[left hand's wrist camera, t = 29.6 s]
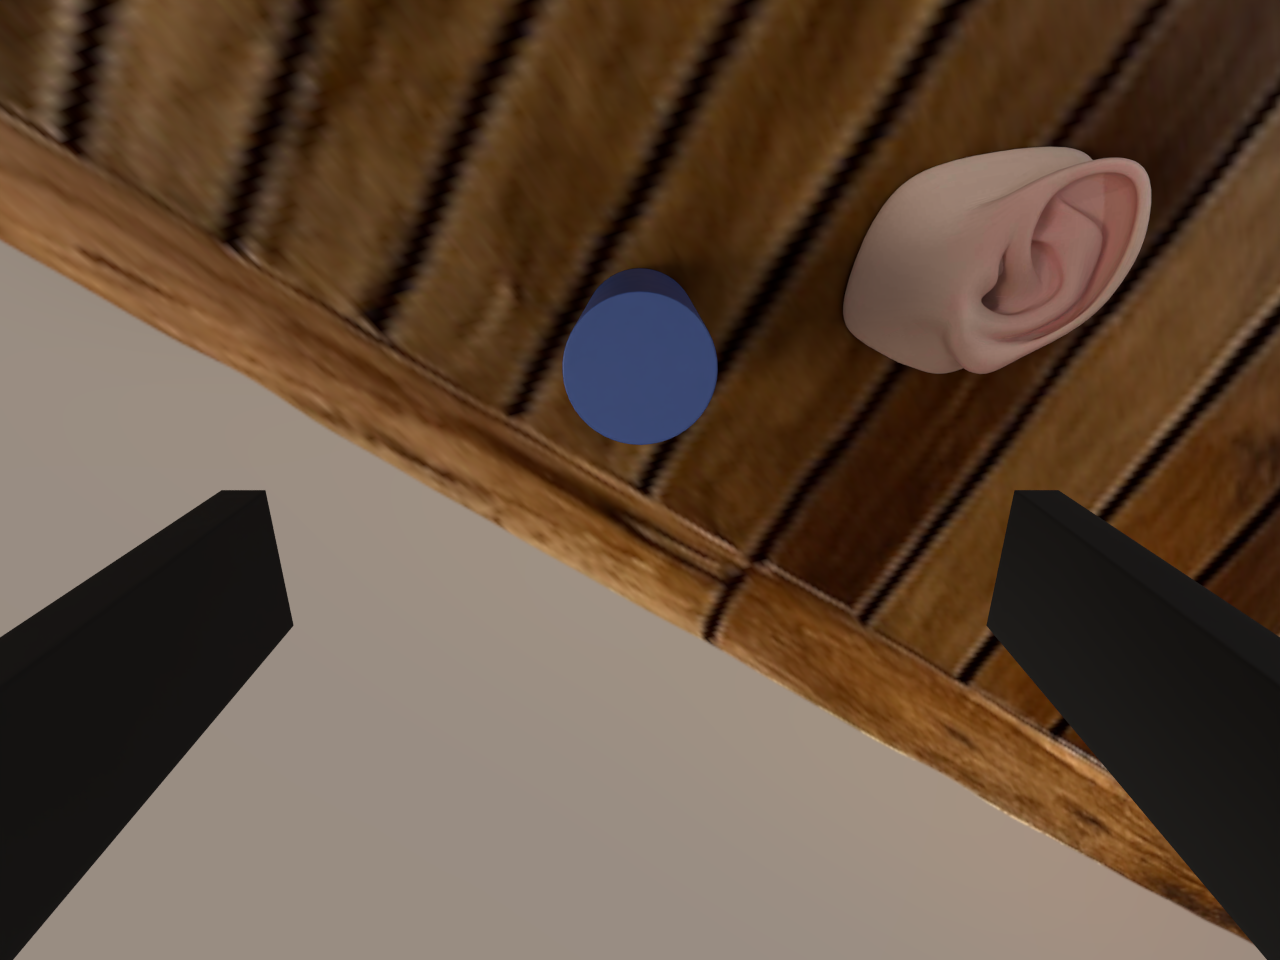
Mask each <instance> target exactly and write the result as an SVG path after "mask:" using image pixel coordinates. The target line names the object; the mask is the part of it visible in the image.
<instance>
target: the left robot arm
mask: <svg viewBox="0 0 1280 960" xmlns="http://www.w3.org/2000/svg"><path fill="white" fill-rule="evenodd" d="M292 627H293V621H292V616H291V612H290V607H289V602H288V597H287V592H286V588H285V583H284V578H283V573H282V568H281V563H280V559H279V554H278V549H277V544H276V539H275V534H274V530H273V525H272V520H271V515H270V510H269V506H268V501H267V496H266V491H265V490H221V491H220V492H218V493H217V494H216V495H214V496H212V497H211V498H209V499H208V500H206V501H205V502H203V503H202V504H200V505H199V506H197V507H196V508H194V509H193V510H191V511H190V512H188V513H187V514H185V515H184V516H182V517H181V518H179V519H178V520H176V521H175V522H173V523H172V524H170V525H169V526H167V527H166V528H164V529H163V530H161V531H160V532H158V533H157V534H155V535H154V536H152V537H151V538H149V539H148V540H146V541H145V542H143V543H142V544H140V545H139V546H137V547H136V548H134V549H133V550H131V551H130V552H128V553H127V554H125V555H124V556H122V557H121V558H119V559H118V560H116V561H115V562H113V563H112V564H110V565H109V566H107V567H106V568H104V569H103V570H101V571H100V572H98V573H97V574H95V575H93V576H92V577H90V578H89V579H88V580H86V581H84V582H83V583H81V584H80V585H79V586H77V587H75V588H74V589H72V590H71V591H69V592H68V593H66V594H65V595H63V596H62V597H60V598H59V599H57V600H56V601H54V602H53V603H51V604H50V605H48V606H47V607H45V608H44V609H42V610H41V611H39V612H38V613H36V614H35V615H33V616H32V617H30V618H29V619H27V620H26V621H24V622H23V623H21V624H20V625H18V626H17V627H15V628H14V629H12V630H11V631H9V632H8V633H6V634H5V635H3V636H2V637H0V960H13V959H14V958H15V957H16V956H17V954H18V953H19V952H20V951H21V950H22V948H23V947H24V946H25V945H26V944H27V942H28V941H29V940H30V939H31V938H32V936H33V935H34V934H35V933H36V932H37V931H38V929H39V928H40V927H41V926H42V925H43V923H44V922H45V921H46V920H47V919H48V917H49V916H50V915H51V914H52V913H53V911H54V910H55V909H56V908H57V907H58V905H59V904H60V903H61V902H62V901H63V900H64V898H65V897H66V896H67V895H68V894H69V892H70V891H71V890H72V889H73V888H74V886H75V885H76V884H77V883H78V882H79V880H80V879H81V878H82V877H83V876H84V874H85V873H86V872H87V871H88V870H89V868H90V867H91V866H92V865H93V864H94V863H95V861H96V860H97V859H98V858H99V857H100V855H101V854H102V853H103V852H104V851H105V849H106V848H107V847H108V846H109V845H110V844H111V842H112V841H113V840H114V839H115V838H116V836H117V835H118V834H119V833H120V832H121V830H122V829H123V828H124V827H125V826H126V824H127V823H128V822H129V821H130V820H131V818H132V817H133V816H134V815H135V814H136V813H137V811H138V810H139V809H140V808H141V807H142V805H143V804H144V803H145V802H146V801H147V799H148V798H149V797H150V796H151V795H152V793H153V792H154V791H155V790H156V789H157V788H158V786H159V785H160V784H161V783H162V781H163V780H164V779H165V778H166V777H167V776H168V774H169V773H170V772H171V771H172V770H173V768H174V767H175V766H176V765H177V764H178V762H179V761H180V760H181V759H182V758H183V756H184V755H185V754H186V753H187V752H188V751H189V749H190V748H191V747H192V746H193V745H194V743H195V742H196V741H197V740H198V739H199V737H200V736H201V735H202V734H203V733H204V731H205V730H206V729H207V728H208V727H209V725H210V724H211V723H212V722H213V721H214V720H215V718H216V717H217V716H218V715H219V714H220V712H221V711H222V710H223V709H224V708H225V706H226V705H227V704H228V703H229V702H230V701H231V699H232V698H233V697H234V696H235V695H236V693H237V692H238V691H239V690H240V689H241V687H242V686H243V685H244V684H245V683H246V681H247V680H248V679H249V678H250V677H251V675H252V674H253V673H254V672H255V671H256V670H257V668H258V667H259V666H260V665H261V663H262V662H263V661H264V660H265V659H266V658H267V656H268V655H269V654H270V653H271V652H272V650H273V649H274V648H275V647H276V646H277V644H278V643H279V642H280V641H281V640H282V638H283V637H284V636H285V635H286V634H287V633H288V631H289V630H290V629H291V628H292ZM987 627H988V628H989V629H990V630H991V631H992V633H993V634H994V635H995V636H996V637H997V639H998V640H999V641H1000V642H1001V643H1002V645H1003V646H1004V647H1005V648H1006V649H1007V650H1008V652H1009V653H1010V654H1011V655H1012V656H1013V658H1014V659H1015V660H1016V661H1017V662H1018V664H1019V665H1020V666H1021V667H1022V668H1023V670H1024V671H1025V672H1026V673H1027V674H1028V675H1029V677H1030V678H1031V679H1032V680H1033V681H1034V683H1035V684H1036V685H1037V686H1038V687H1039V689H1040V690H1041V691H1042V692H1043V693H1044V695H1045V696H1046V697H1047V698H1048V699H1049V701H1050V702H1051V703H1052V704H1053V705H1054V706H1055V708H1056V709H1057V710H1058V711H1059V712H1060V714H1061V715H1062V716H1063V717H1064V718H1065V720H1066V721H1067V722H1068V723H1069V724H1070V726H1071V727H1072V728H1073V729H1074V730H1075V731H1076V733H1077V734H1078V735H1079V736H1080V737H1081V739H1082V740H1083V741H1084V742H1085V743H1086V745H1087V746H1088V747H1089V748H1090V749H1091V751H1092V752H1093V753H1094V754H1095V755H1096V757H1097V758H1098V759H1099V760H1100V761H1101V762H1102V764H1103V765H1104V766H1105V767H1106V768H1107V770H1108V771H1109V772H1110V773H1111V774H1112V776H1113V777H1114V778H1115V779H1116V780H1117V782H1118V783H1119V784H1120V785H1121V786H1122V788H1123V789H1124V790H1125V791H1126V792H1127V793H1128V795H1129V796H1130V797H1131V798H1132V799H1133V801H1134V802H1135V803H1136V804H1137V805H1138V807H1139V808H1140V809H1141V810H1142V811H1143V813H1144V814H1145V815H1146V816H1147V817H1148V818H1149V820H1150V821H1151V822H1152V823H1153V824H1154V826H1155V827H1156V828H1157V829H1158V830H1159V832H1160V833H1161V834H1162V835H1163V836H1164V838H1165V839H1166V840H1167V841H1168V842H1169V844H1170V845H1171V846H1172V847H1173V848H1174V849H1175V851H1176V852H1177V853H1178V854H1179V855H1180V857H1181V858H1182V859H1183V860H1184V861H1185V863H1186V864H1187V865H1188V866H1189V867H1190V869H1191V870H1192V871H1193V872H1194V873H1195V874H1196V876H1197V877H1198V878H1199V879H1200V880H1201V882H1202V883H1203V884H1204V885H1205V886H1206V888H1207V889H1208V890H1209V891H1210V892H1211V894H1212V895H1213V896H1214V897H1215V898H1216V900H1217V901H1218V902H1219V903H1220V904H1221V905H1222V907H1223V908H1224V909H1225V910H1226V911H1227V913H1228V914H1229V915H1230V916H1231V917H1232V919H1233V920H1234V921H1235V922H1236V923H1237V925H1238V926H1239V927H1240V928H1241V929H1242V931H1243V932H1244V933H1245V934H1246V935H1247V936H1248V938H1249V939H1250V940H1251V941H1252V942H1253V944H1254V945H1255V946H1256V947H1257V948H1258V950H1259V951H1260V952H1261V953H1262V954H1263V955H1264V957H1265V958H1266V959H1267V960H1280V637H1278V636H1277V635H1275V634H1274V633H1272V632H1271V631H1269V630H1268V629H1266V628H1265V627H1263V626H1262V625H1260V624H1259V623H1257V622H1256V621H1254V620H1253V619H1251V618H1250V617H1248V616H1247V615H1245V614H1244V613H1242V612H1241V611H1239V610H1238V609H1236V608H1235V607H1233V606H1232V605H1230V604H1229V603H1227V602H1226V601H1224V600H1223V599H1221V598H1220V597H1218V596H1217V595H1215V594H1214V593H1212V592H1211V591H1209V590H1208V589H1206V588H1205V587H1203V586H1202V585H1200V584H1199V583H1197V582H1196V581H1194V580H1193V579H1191V578H1190V577H1188V576H1187V575H1185V574H1184V573H1182V572H1181V571H1179V570H1177V569H1176V568H1174V567H1173V566H1171V565H1170V564H1168V563H1167V562H1165V561H1164V560H1162V559H1161V558H1159V557H1158V556H1156V555H1155V554H1153V553H1152V552H1150V551H1149V550H1147V549H1146V548H1144V547H1143V546H1141V545H1140V544H1138V543H1137V542H1135V541H1134V540H1132V539H1131V538H1129V537H1128V536H1126V535H1125V534H1123V533H1122V532H1120V531H1119V530H1117V529H1116V528H1114V527H1113V526H1111V525H1110V524H1108V523H1107V522H1105V521H1104V520H1102V519H1101V518H1099V517H1098V516H1096V515H1095V514H1093V513H1092V512H1090V511H1089V510H1087V509H1086V508H1084V507H1083V506H1081V505H1080V504H1078V503H1077V502H1075V501H1074V500H1072V499H1071V498H1069V497H1068V496H1066V495H1065V494H1063V493H1062V492H1060V491H1059V490H1015V491H1014V496H1013V501H1012V506H1011V510H1010V515H1009V520H1008V525H1007V530H1006V534H1005V539H1004V544H1003V549H1002V554H1001V559H1000V563H999V568H998V573H997V578H996V583H995V587H994V592H993V597H992V602H991V607H990V612H989V616H988V621H987Z"/></svg>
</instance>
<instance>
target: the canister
mask: <svg viewBox="0 0 1280 960" xmlns="http://www.w3.org/2000/svg"><path fill="white" fill-rule="evenodd" d="M717 371H718V366H717V355H716V350H715V347H714V343H713V340H712V338H711V336H710V334H709V332H708V330H707V328H706V326H705V325H704V323H703V321H702V319H701V318H700V316H699V314H698V312H697V311H696V309H695V307H694V305H693V304H692V302H691V300H690V298H689V297H688V295H687V294H686V292H685V291H684V289H683V288H682V287H681V286H680V285H679V284H678V283H677V282H676V281H675V280H673V279H672V278H670V277H669V276H667V275H665V274H663V273H661V272H658V271H655V270H651V269H642V268H637V269H629V270H625V271H622V272H619V273H617V274H615V275H613V276H611V277H610V278H608V279H607V280H606V281H604V282H603V283H602V284H601V285H600V286H599V287H598V288H597V290H596V291H595V292H594V294H593V296H592V297H591V299H590V301H589V302H588V304H587V306H586V308H585V309H584V311H583V313H582V315H581V316H580V318H579V320H578V322H577V323H576V325H575V327H574V328H573V330H572V332H571V334H570V336H569V339H568V341H567V344H566V347H565V351H564V356H563V379H564V385H565V389H566V392H567V395H568V397H569V400H570V402H571V404H572V405H573V407H574V409H575V410H576V412H577V413H578V414H579V416H580V417H581V418H582V419H583V420H584V421H585V422H586V423H587V424H588V425H589V426H590V427H591V428H593V429H594V430H595V431H597V432H598V433H600V434H602V435H603V436H605V437H608V438H610V439H612V440H615V441H618V442H622V443H627V444H637V445H644V444H653V443H658V442H662V441H665V440H668V439H671V438H673V437H675V436H677V435H679V434H680V433H682V432H683V431H685V430H686V429H688V428H689V427H690V426H691V425H692V424H694V423H695V422H696V420H697V419H698V418H699V417H700V416H701V415H702V413H703V412H704V410H705V409H706V408H707V406H708V404H709V402H710V400H711V398H712V395H713V392H714V390H715V385H716V381H717Z"/></svg>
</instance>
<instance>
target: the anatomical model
mask: <svg viewBox="0 0 1280 960" xmlns="http://www.w3.org/2000/svg"><path fill="white" fill-rule="evenodd" d="M1150 208H1151V186H1150V181H1149V177H1148V174H1147V173H1146V171H1145V169H1144V168H1143V167H1142V166H1141V165H1140V164H1138V163H1137V162H1135V161H1132V160H1129V159H1125V158H1103V159H1097V160H1092V159H1091V158H1090V157H1089V156H1088V155H1087V154H1085V153H1084V152H1081V151H1079V150H1076V149H1072V148H1066V147H1035V148H1023V149H1014V150H1007V151H1000V152H993V153H988V154H982V155H977V156H972V157H967V158H963V159H959V160H955V161H951V162H948V163H945V164H942V165H938V166H935V167H933V168H930V169H928V170H925V171H923V172H921V173H919V174H917V175H916V176H914V177H912V178H911V179H909V180H908V181H907V182H905V183H904V184H903V185H902V186H900V187H899V188H898V189H897V190H896V191H895V192H894V193H893V194H892V195H891V196H890V198H889V199H888V200H887V202H886V203H885V204H884V205H883V207H882V208H881V210H880V212H879V213H878V215H877V216H876V218H875V219H874V221H873V222H872V224H871V226H870V228H869V230H868V232H867V234H866V236H865V238H864V240H863V243H862V245H861V248H860V250H859V252H858V255H857V257H856V260H855V263H854V266H853V268H852V271H851V274H850V277H849V280H848V284H847V288H846V292H845V297H844V303H843V316H844V321H845V324H846V326H847V328H848V329H849V330H850V332H851V333H852V334H853V335H854V336H855V337H856V338H858V339H859V340H860V341H862V342H863V343H865V344H866V345H867V346H869V347H871V348H873V349H875V350H876V351H878V352H880V353H882V354H883V355H885V356H887V357H889V358H891V359H893V360H895V361H897V362H899V363H901V364H904V365H907V366H910V367H913V368H916V369H919V370H922V371H925V372H929V373H936V374H942V373H949V372H953V371H956V370H959V369H962V368H964V369H966V370H968V371H970V372H972V373H978V374H985V373H990V372H993V371H996V370H998V369H1000V368H1002V367H1004V366H1006V365H1008V364H1010V363H1012V362H1014V361H1015V360H1017V359H1019V358H1021V357H1023V356H1025V355H1027V354H1029V353H1031V352H1033V351H1035V350H1037V349H1039V348H1041V347H1043V346H1045V345H1047V344H1049V343H1051V342H1053V341H1055V340H1056V339H1058V338H1060V337H1062V336H1064V335H1066V334H1067V333H1069V332H1070V331H1072V330H1073V329H1075V328H1076V327H1078V326H1079V325H1081V324H1082V323H1084V322H1085V321H1086V320H1088V319H1089V318H1090V317H1091V316H1092V315H1093V314H1095V313H1096V312H1097V311H1098V310H1099V309H1100V308H1101V307H1102V306H1103V305H1104V304H1105V303H1106V302H1107V301H1108V299H1109V298H1110V297H1111V296H1112V294H1113V293H1114V292H1115V291H1116V289H1117V288H1118V287H1119V285H1120V284H1121V282H1122V281H1123V280H1124V278H1125V276H1126V275H1127V273H1128V272H1129V270H1130V269H1131V267H1132V265H1133V263H1134V262H1135V260H1136V258H1137V256H1138V253H1139V251H1140V249H1141V246H1142V244H1143V241H1144V238H1145V234H1146V231H1147V226H1148V222H1149V216H1150Z"/></svg>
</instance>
